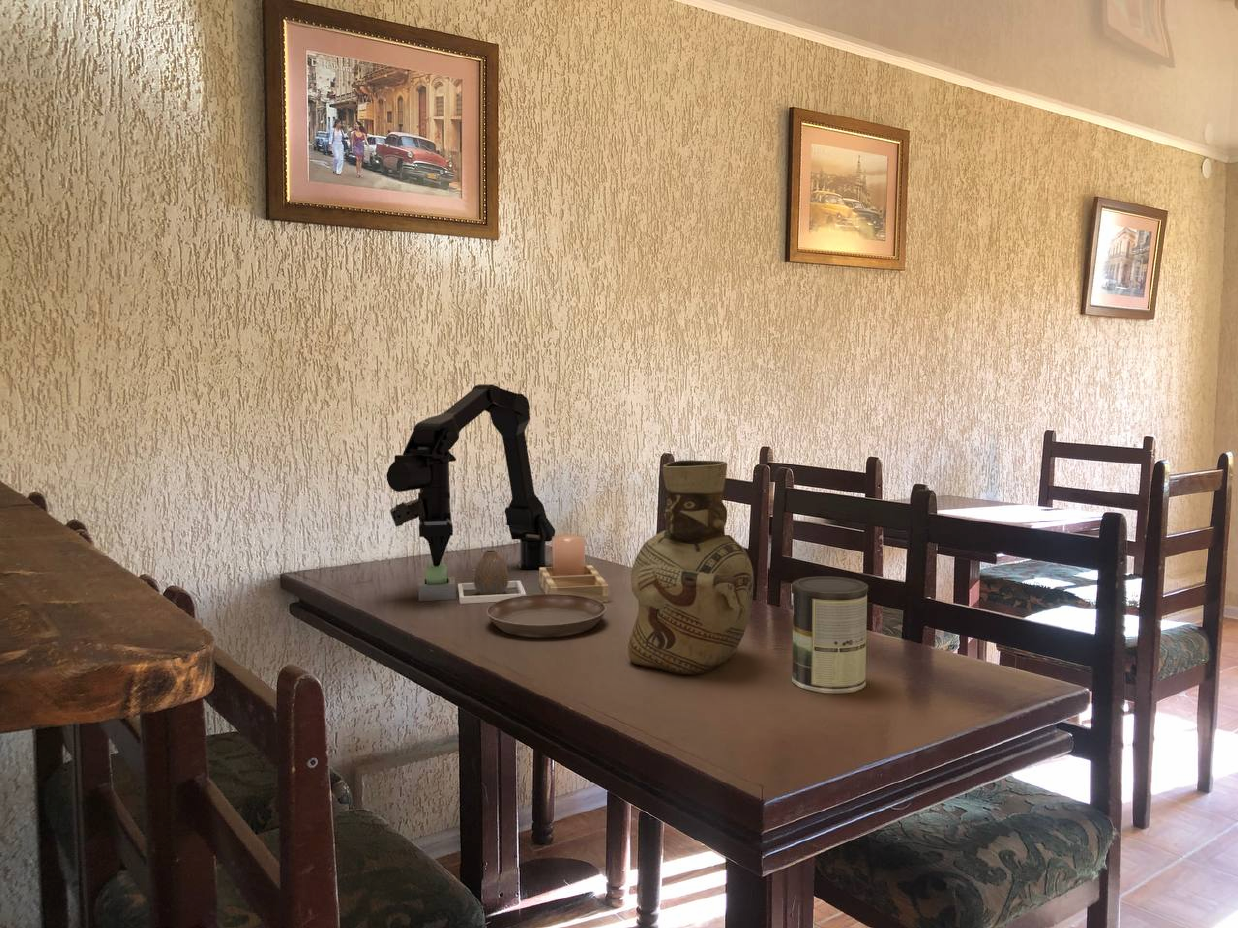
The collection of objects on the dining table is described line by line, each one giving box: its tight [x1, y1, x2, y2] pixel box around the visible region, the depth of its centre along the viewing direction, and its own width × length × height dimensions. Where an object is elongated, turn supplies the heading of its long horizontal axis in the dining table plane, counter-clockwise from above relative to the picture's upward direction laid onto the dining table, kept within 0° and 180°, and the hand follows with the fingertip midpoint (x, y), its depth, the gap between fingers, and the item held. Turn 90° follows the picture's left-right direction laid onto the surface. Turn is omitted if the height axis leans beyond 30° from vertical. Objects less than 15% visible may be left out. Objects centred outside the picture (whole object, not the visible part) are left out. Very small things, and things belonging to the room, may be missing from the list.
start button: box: [425, 563, 448, 584], centre depth 192 cm, size 4×4×4 cm
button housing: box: [417, 576, 457, 602], centre depth 193 cm, size 7×7×3 cm
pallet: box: [538, 564, 610, 603], centre depth 196 cm, size 20×11×3 cm, turn 11°
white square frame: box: [457, 580, 527, 605], centre depth 194 cm, size 13×13×1 cm
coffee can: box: [791, 575, 869, 695], centre depth 138 cm, size 10×10×14 cm
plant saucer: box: [486, 593, 607, 638], centre depth 171 cm, size 21×21×3 cm
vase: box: [472, 549, 510, 596], centre depth 193 cm, size 7×7×9 cm
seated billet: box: [551, 533, 586, 576], centre depth 200 cm, size 7×7×9 cm
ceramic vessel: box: [627, 459, 754, 676], centre depth 148 cm, size 19×21×30 cm
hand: (436, 565), depth 192 cm, fingers closed
